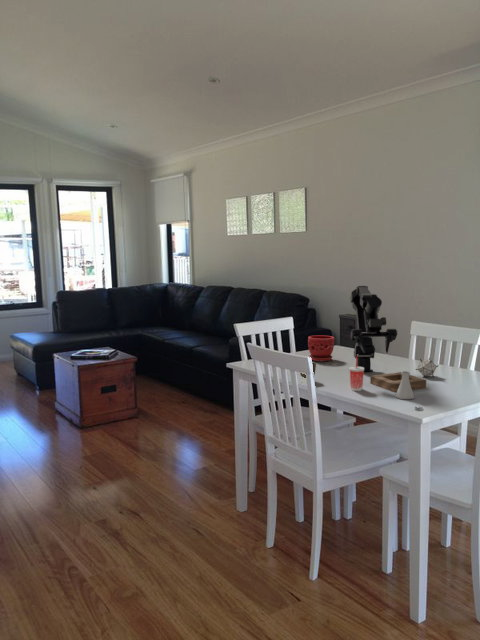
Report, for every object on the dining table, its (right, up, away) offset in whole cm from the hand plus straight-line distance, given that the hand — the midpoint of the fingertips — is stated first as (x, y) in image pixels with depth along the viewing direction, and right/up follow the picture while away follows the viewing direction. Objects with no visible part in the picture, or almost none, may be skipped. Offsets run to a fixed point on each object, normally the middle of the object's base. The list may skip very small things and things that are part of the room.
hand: (375, 352), depth 240 cm
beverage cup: (-9, -15, -4) cm, 18 cm away
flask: (+7, -17, -16) cm, 24 cm away
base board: (+10, -14, +2) cm, 17 cm away
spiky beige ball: (+26, -12, +16) cm, 33 cm away
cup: (-27, -13, +12) cm, 32 cm away
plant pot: (-15, -7, +55) cm, 57 cm away
